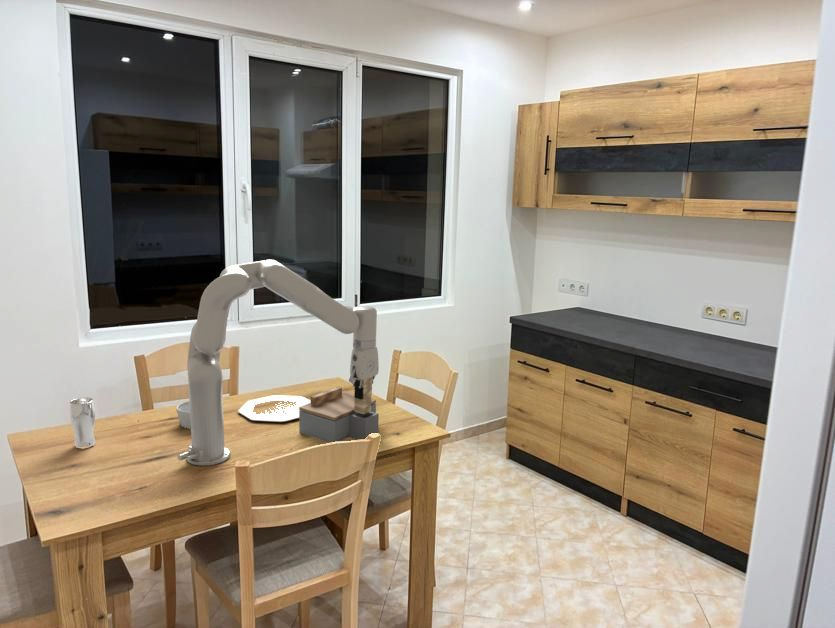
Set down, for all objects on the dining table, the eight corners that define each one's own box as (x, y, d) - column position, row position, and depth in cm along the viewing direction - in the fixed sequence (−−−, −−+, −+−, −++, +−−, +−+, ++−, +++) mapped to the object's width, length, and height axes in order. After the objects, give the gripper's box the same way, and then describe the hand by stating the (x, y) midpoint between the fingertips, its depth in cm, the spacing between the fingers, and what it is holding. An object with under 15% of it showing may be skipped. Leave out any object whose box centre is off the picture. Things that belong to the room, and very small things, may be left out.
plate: (228, 408, 230) (227, 404, 230) (292, 394, 248) (291, 390, 248) (262, 430, 210) (262, 426, 210) (329, 413, 228) (329, 409, 228)
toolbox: (350, 449, 196) (350, 426, 194) (299, 432, 208) (299, 410, 207) (391, 429, 214) (391, 407, 212) (341, 414, 226) (341, 394, 225)
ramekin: (180, 433, 205) (179, 414, 204) (174, 420, 216) (173, 402, 215) (220, 427, 211) (219, 408, 210) (213, 415, 223) (212, 397, 221)
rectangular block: (363, 414, 202) (364, 373, 199) (354, 411, 204) (355, 371, 201) (371, 411, 205) (372, 371, 203) (361, 408, 207) (362, 369, 205)
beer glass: (102, 442, 196) (99, 398, 193) (85, 451, 189) (81, 405, 186) (84, 439, 198) (81, 396, 195) (67, 448, 191) (63, 403, 188)
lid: (334, 420, 198) (334, 409, 197) (299, 409, 207) (299, 398, 206) (375, 402, 216) (376, 391, 215) (341, 393, 225) (341, 383, 224)
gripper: (357, 350, 191) (355, 405, 195) (388, 341, 205) (386, 393, 208) (339, 346, 195) (338, 400, 199) (371, 337, 209) (369, 388, 213)
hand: (363, 396), depth 204 cm, fingers closed on rectangular block, 4 cm apart
